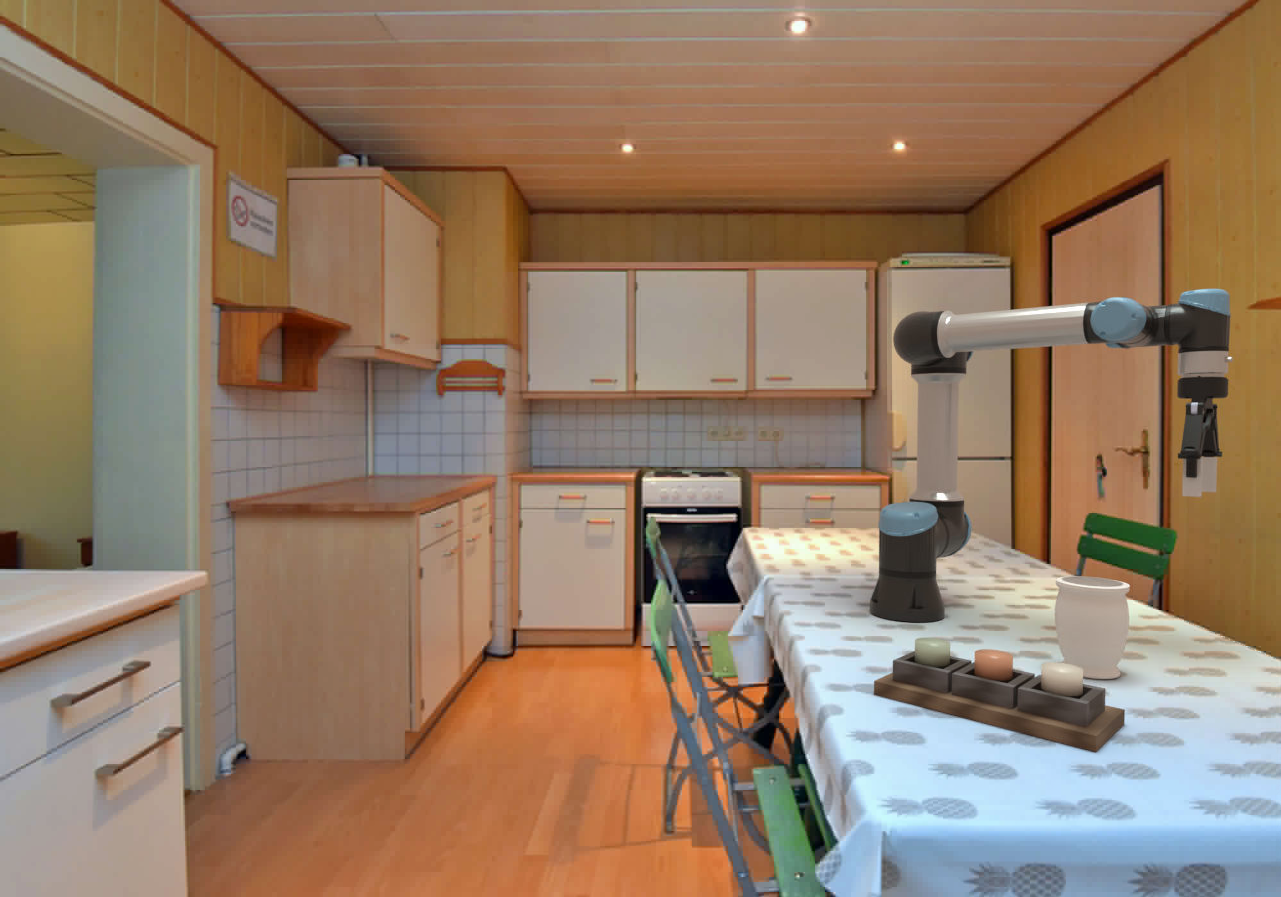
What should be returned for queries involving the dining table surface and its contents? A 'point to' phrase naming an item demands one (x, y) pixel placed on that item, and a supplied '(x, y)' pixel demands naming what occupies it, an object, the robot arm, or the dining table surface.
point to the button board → (1004, 701)
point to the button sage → (932, 652)
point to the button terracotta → (993, 665)
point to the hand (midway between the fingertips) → (1199, 494)
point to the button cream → (1062, 679)
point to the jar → (1092, 624)
